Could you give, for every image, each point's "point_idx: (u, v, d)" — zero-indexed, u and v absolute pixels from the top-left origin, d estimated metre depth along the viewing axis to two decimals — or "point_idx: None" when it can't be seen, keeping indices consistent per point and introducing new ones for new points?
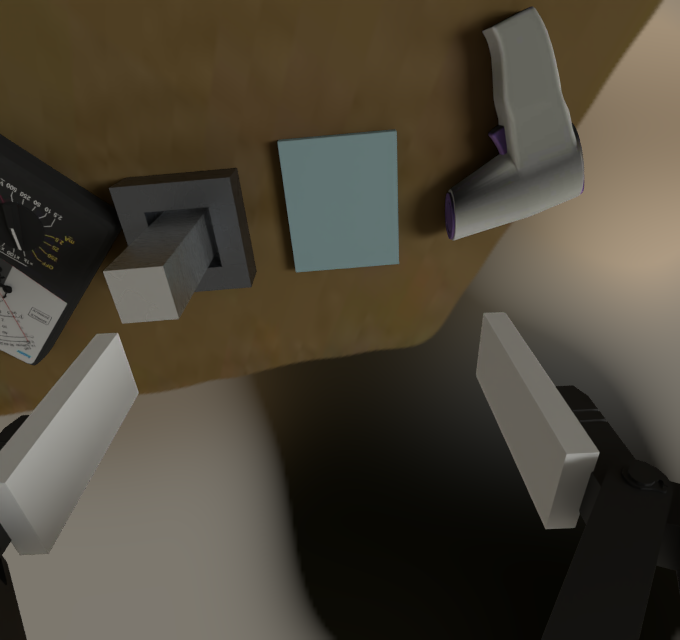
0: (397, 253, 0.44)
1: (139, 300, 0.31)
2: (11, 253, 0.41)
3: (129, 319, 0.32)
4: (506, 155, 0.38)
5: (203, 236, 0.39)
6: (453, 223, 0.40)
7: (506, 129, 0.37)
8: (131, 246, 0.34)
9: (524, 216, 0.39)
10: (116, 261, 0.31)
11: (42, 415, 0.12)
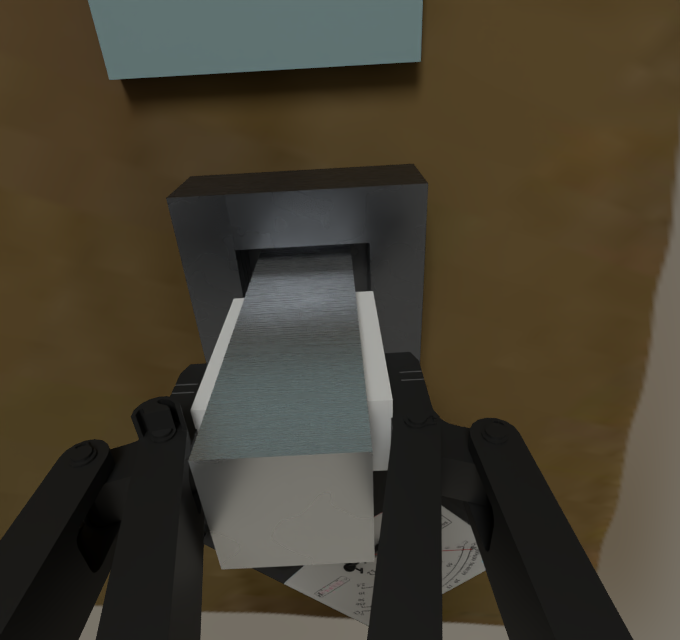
0: None
1: (305, 522, 0.11)
2: None
3: (365, 548, 0.12)
4: None
5: (292, 270, 0.18)
6: None
7: None
8: None
9: None
10: None
11: (221, 360, 0.14)
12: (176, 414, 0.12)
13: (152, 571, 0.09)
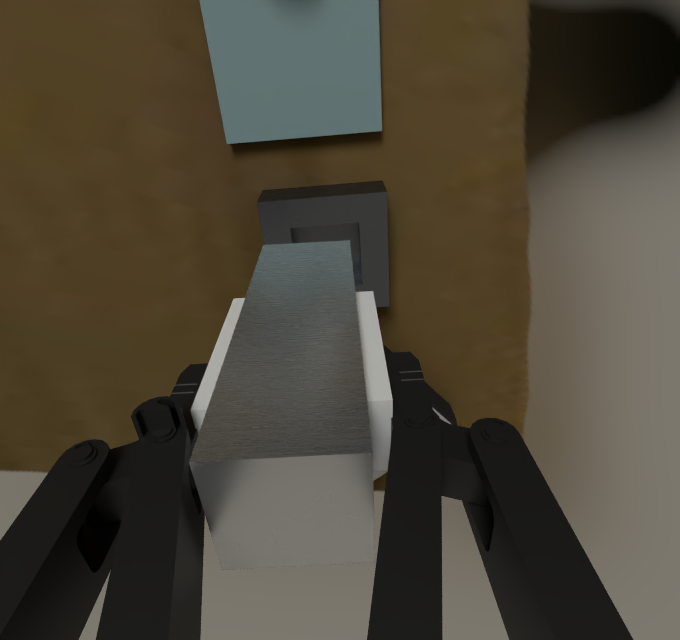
0: None
1: (305, 523, 0.11)
2: None
3: (365, 549, 0.12)
4: None
5: (292, 271, 0.18)
6: None
7: None
8: None
9: None
10: None
11: (221, 360, 0.14)
12: (176, 414, 0.12)
13: (152, 571, 0.09)
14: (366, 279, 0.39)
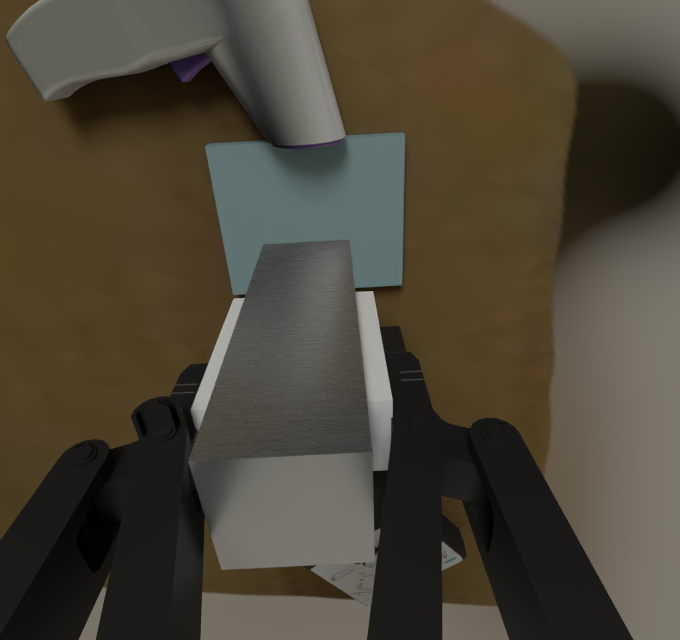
0: (387, 137, 0.27)
1: (305, 523, 0.11)
2: None
3: (365, 549, 0.12)
4: (208, 55, 0.24)
5: (292, 270, 0.18)
6: (308, 146, 0.25)
7: (169, 60, 0.24)
8: None
9: (298, 15, 0.22)
10: None
11: (221, 360, 0.14)
12: (176, 414, 0.12)
13: (153, 571, 0.09)
14: None
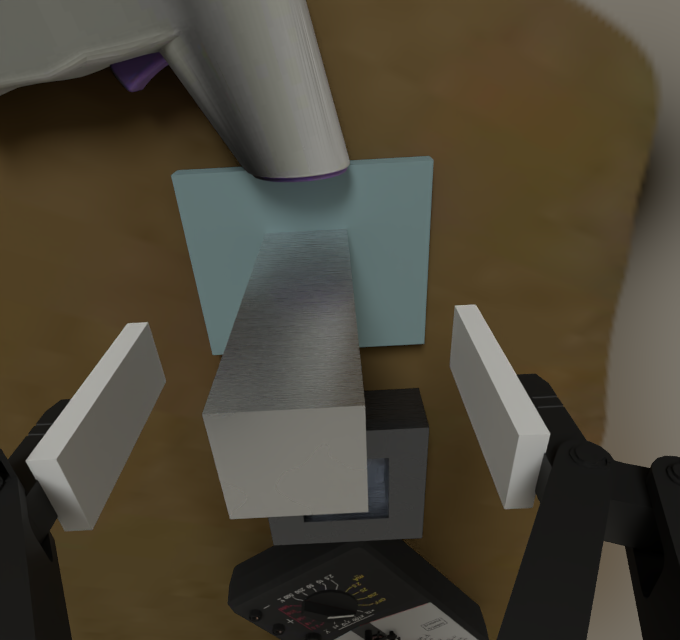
0: (409, 164, 0.21)
1: (305, 473, 0.12)
2: (355, 618, 0.36)
3: (359, 499, 0.13)
4: (162, 55, 0.17)
5: (292, 256, 0.20)
6: (300, 179, 0.19)
7: (109, 62, 0.17)
8: None
9: (285, 0, 0.15)
10: None
11: (84, 398, 0.13)
12: (0, 463, 0.11)
13: (5, 626, 0.08)
14: (394, 512, 0.29)
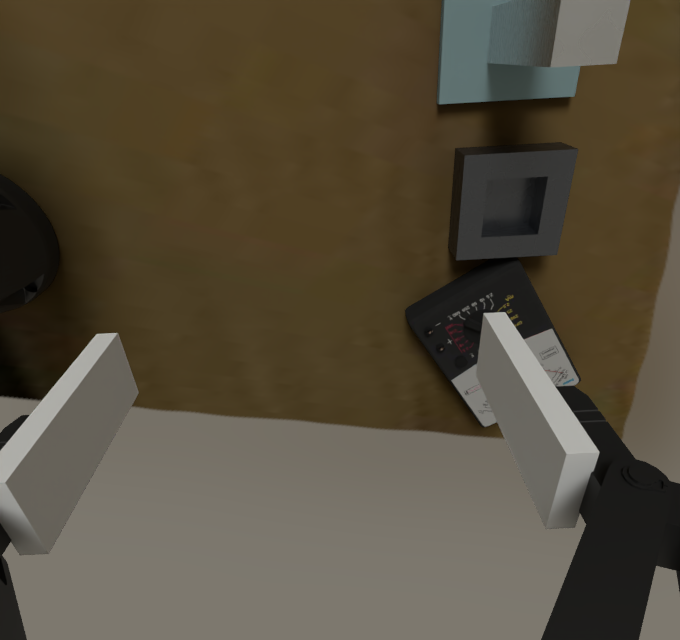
0: None
1: (595, 31, 0.27)
2: None
3: (614, 53, 0.28)
4: None
5: None
6: None
7: None
8: (524, 61, 0.32)
9: None
10: (541, 61, 0.29)
11: (42, 415, 0.12)
12: None
13: None
14: (542, 229, 0.44)
